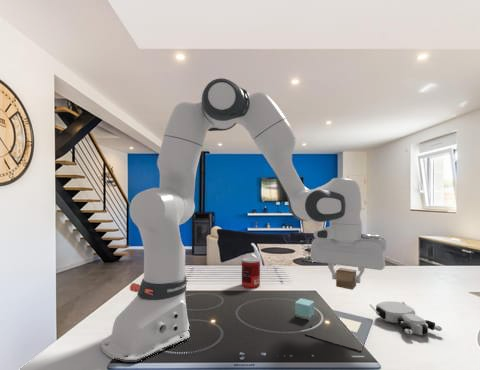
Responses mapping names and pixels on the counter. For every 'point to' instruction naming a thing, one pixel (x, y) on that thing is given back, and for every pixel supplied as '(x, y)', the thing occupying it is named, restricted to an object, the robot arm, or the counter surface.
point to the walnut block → (345, 278)
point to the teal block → (304, 307)
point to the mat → (356, 324)
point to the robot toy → (404, 317)
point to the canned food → (250, 272)
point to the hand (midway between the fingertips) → (346, 280)
